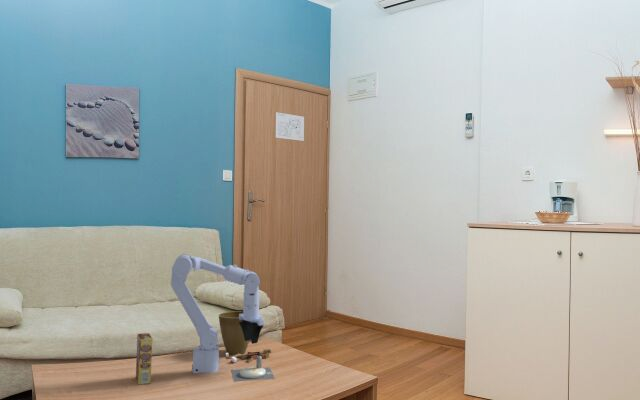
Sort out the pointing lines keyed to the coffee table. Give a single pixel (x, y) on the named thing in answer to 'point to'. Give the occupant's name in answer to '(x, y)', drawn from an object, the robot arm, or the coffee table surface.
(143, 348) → the candy box
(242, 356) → the character figurine
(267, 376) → the stand plate
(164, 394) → the coffee table surface
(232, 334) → the plant pot
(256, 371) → the dial
